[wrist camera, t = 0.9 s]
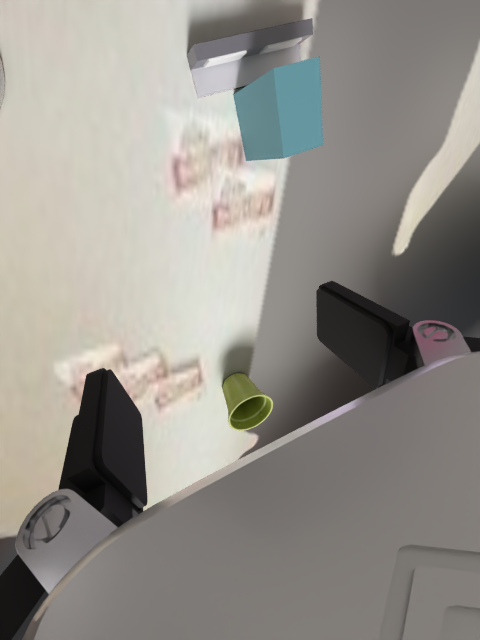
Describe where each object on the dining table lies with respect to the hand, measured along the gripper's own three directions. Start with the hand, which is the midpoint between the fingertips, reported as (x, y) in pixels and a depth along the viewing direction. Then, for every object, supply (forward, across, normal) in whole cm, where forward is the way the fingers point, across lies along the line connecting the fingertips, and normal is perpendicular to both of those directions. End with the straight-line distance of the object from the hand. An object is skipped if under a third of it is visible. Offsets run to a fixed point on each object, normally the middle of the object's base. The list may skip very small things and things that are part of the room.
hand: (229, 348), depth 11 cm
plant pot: (+30, -4, +35) cm, 46 cm away
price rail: (+29, -16, -15) cm, 37 cm away
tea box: (+29, -17, -9) cm, 35 cm away
